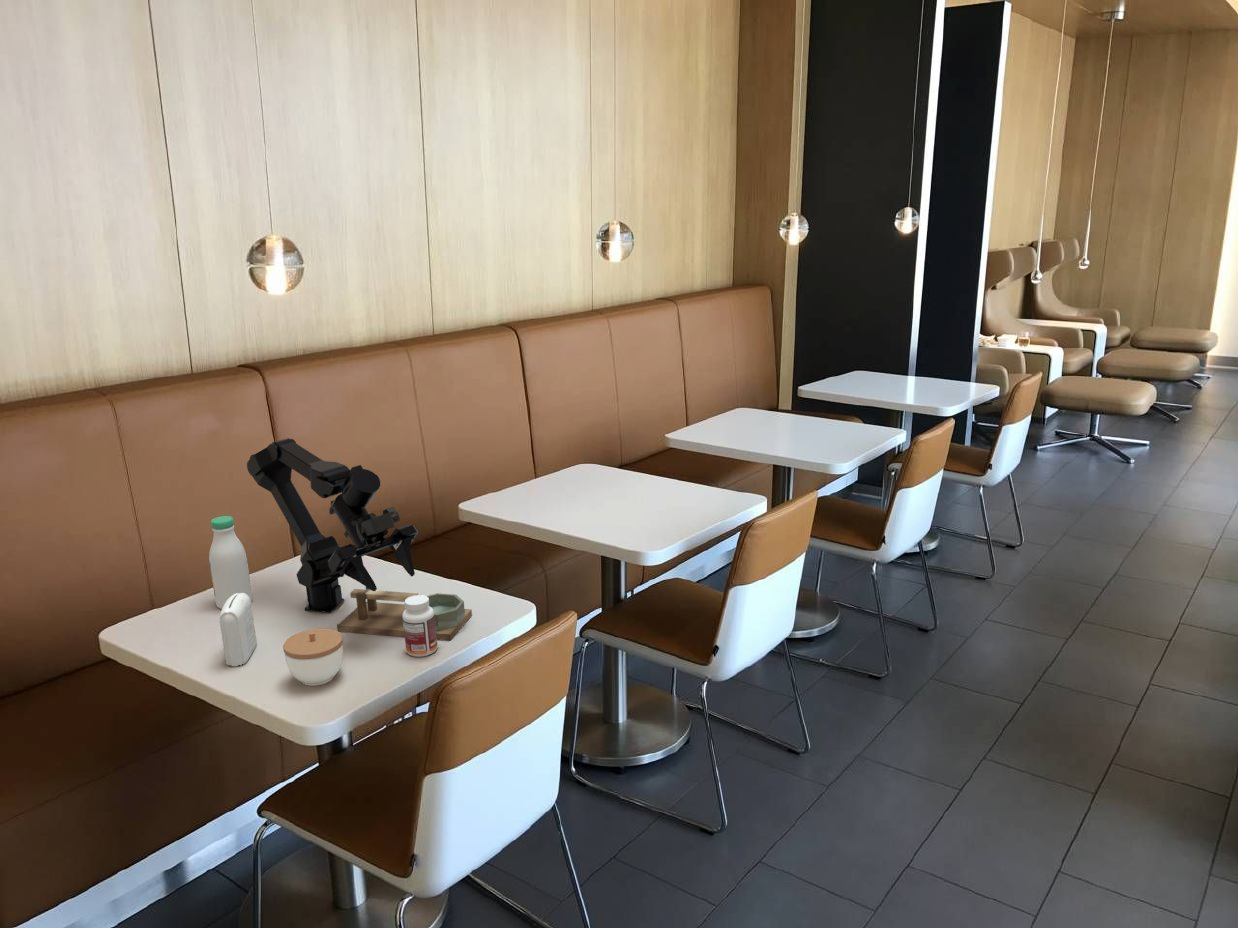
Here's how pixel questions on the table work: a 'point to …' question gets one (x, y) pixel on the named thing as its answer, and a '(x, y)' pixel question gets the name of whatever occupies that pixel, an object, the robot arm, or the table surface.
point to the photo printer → (237, 629)
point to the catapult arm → (444, 605)
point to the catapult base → (386, 619)
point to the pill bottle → (419, 626)
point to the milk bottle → (228, 562)
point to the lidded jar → (314, 655)
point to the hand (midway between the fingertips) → (394, 582)
